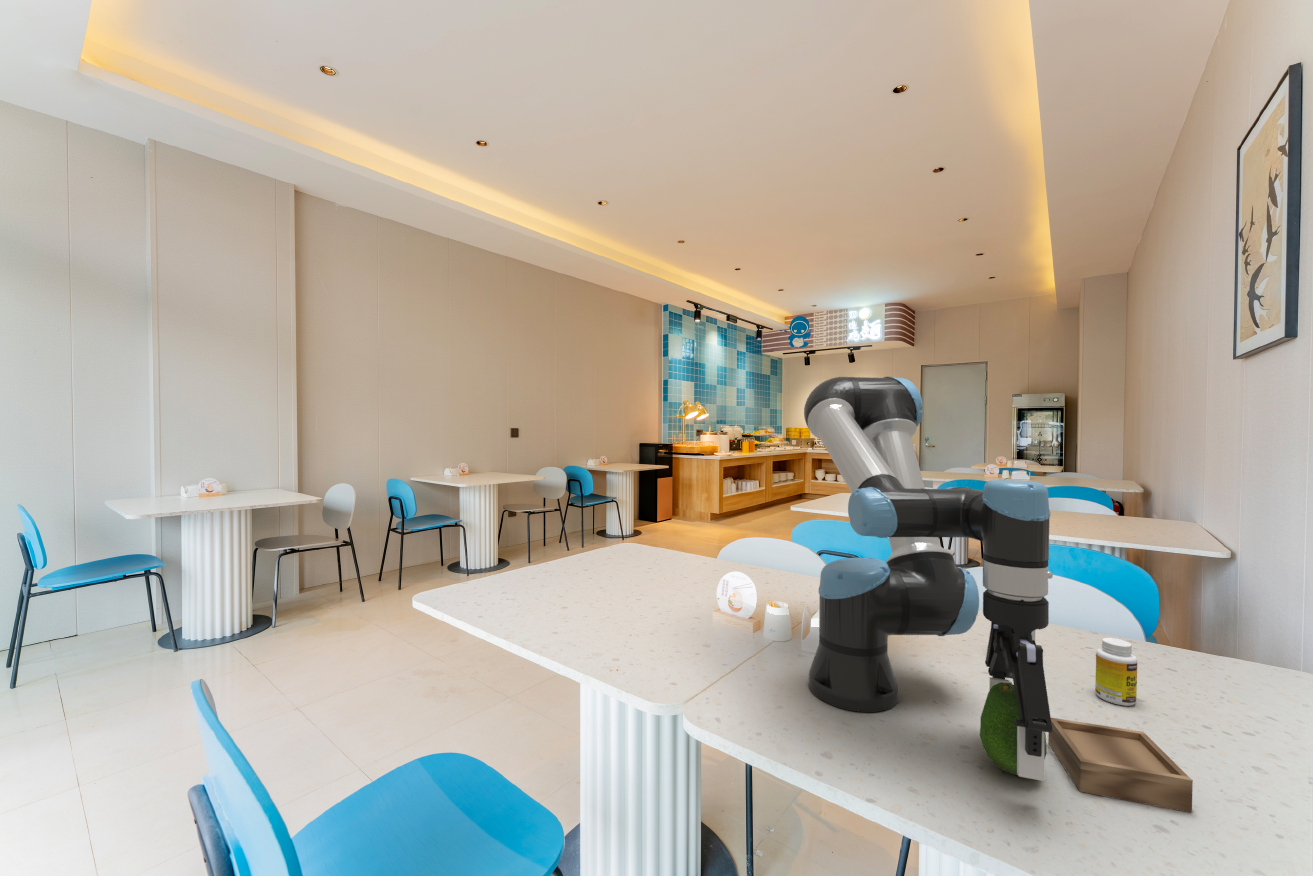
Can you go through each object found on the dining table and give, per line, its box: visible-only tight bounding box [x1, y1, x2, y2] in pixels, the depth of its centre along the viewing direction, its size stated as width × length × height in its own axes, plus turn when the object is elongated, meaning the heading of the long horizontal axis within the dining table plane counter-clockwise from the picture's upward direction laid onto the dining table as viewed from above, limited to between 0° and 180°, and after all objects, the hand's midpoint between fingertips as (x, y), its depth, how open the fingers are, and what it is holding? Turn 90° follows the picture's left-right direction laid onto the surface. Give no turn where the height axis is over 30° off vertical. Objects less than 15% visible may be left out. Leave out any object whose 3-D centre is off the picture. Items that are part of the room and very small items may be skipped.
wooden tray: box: [1047, 717, 1194, 813], centre depth 74 cm, size 12×12×4 cm
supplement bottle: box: [1094, 637, 1138, 707], centre depth 95 cm, size 6×6×10 cm
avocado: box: [979, 682, 1048, 776], centre depth 74 cm, size 8×8×12 cm
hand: (1014, 748), depth 74 cm, fingers open, 13 cm apart
